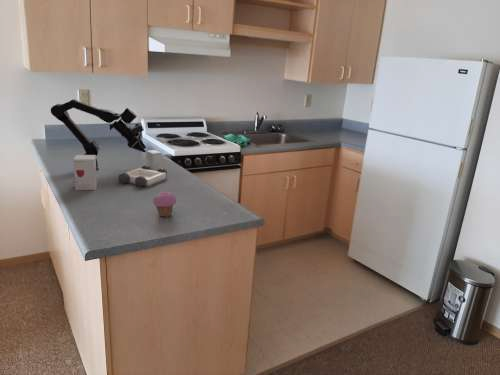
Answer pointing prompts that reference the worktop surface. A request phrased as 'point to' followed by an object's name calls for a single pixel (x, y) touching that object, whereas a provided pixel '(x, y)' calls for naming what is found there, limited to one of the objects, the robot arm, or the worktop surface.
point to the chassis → (143, 176)
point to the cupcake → (164, 203)
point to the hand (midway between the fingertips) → (145, 149)
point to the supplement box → (85, 172)
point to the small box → (154, 159)
